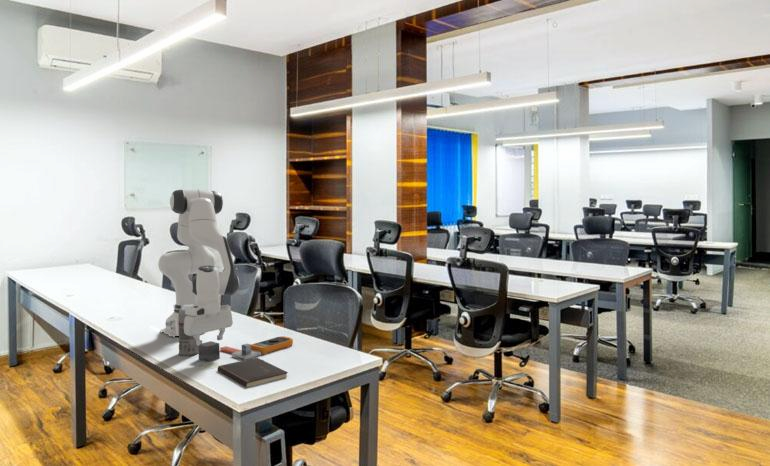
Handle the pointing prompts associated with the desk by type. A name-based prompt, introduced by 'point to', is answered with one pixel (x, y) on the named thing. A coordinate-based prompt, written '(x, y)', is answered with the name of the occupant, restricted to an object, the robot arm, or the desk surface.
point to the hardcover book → (252, 372)
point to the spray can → (186, 336)
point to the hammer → (242, 352)
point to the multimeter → (272, 344)
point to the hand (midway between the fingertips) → (209, 342)
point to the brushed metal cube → (209, 351)
